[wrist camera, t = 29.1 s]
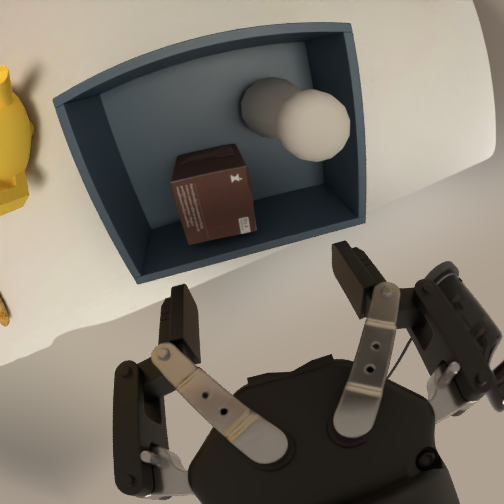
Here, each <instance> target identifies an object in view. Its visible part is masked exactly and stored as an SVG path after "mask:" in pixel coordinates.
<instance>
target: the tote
mask: <svg viewBox="0 0 504 504" xmlns="http://www.w3.org/2000/svg"><path fill="white" fill-rule="evenodd" d="M269 77H277V78H282V79H286V80H288V81H290V82H291V83H292V84H294V85H295V86H296V87H298V88H299V89H301V90H302V91H303V90H308V89H314V90H318V91H322V92H325V93H328V94H330V95H332V96H333V97H335V98H336V99H337V100H338V101H339V102H340V103H341V104H342V105H344V106H345V109H346V111H347V114H348V116H349V119H350V136H349V138H348V139H347V141H346V143H345V145H344V147H343V149H342V150H341V151H339V152H338V153H337V154H336V155H335V156H334V157H332V158H330V159H327V160H323V161H319V162H314V161H308V160H302V159H299V158H297V157H296V156H295V155H293V154H292V153H291V152H289V151H288V150H286V149H285V148H284V146H283V145H282V143H281V141H280V140H277V139H271V138H266V137H261V136H260V135H258V134H257V133H255V132H253V131H252V130H250V129H249V127H248V126H247V124H246V122H245V121H244V119H243V118H242V108H241V101H242V99H243V97H244V94H245V92H246V90H247V89H248V88H249V87H250V86H252V85H253V84H254V83H255V82H257V81H258V80H261V79H265V78H269ZM53 103H54V106H55V108H56V112H57V115H58V118H59V121H60V124H61V127H62V130H63V133H64V135H65V138H66V141H67V143H68V146H69V149H70V151H71V154H72V156H73V159H74V161H75V164H76V166H77V168H78V171H79V173H80V175H81V178H82V180H83V182H84V184H85V187H86V189H87V191H88V193H89V195H90V198H91V200H92V202H93V204H94V206H95V208H96V210H97V212H98V214H99V216H100V218H101V220H102V222H103V224H104V226H105V228H106V230H107V232H108V234H109V235H110V237H111V239H112V241H113V243H114V245H115V246H116V248H117V250H118V252H119V254H120V255H121V257H122V259H123V261H124V262H125V264H126V266H127V268H128V269H129V271H130V273H131V274H132V276H133V278H134V279H135V281H136V283H137V284H141V283H145V282H149V281H153V280H156V279H160V278H164V277H167V276H171V275H175V274H179V273H182V272H186V271H190V270H193V269H197V268H201V267H205V266H208V265H212V264H216V263H219V262H223V261H227V260H231V259H234V258H238V257H242V256H245V255H249V254H253V253H257V252H260V251H264V250H268V249H271V248H275V247H279V246H282V245H286V244H290V243H293V242H297V241H301V240H305V239H308V238H312V237H316V236H319V235H323V234H327V233H330V232H334V231H338V230H341V229H345V228H348V227H352V226H356V225H360V224H363V223H365V220H366V145H365V126H364V113H363V102H362V92H361V83H360V75H359V68H358V61H357V54H356V48H355V43H354V37H353V33H352V27H351V23H335V22H308V23H287V24H275V25H265V26H257V27H250V28H243V29H237V30H231V31H226V32H221V33H216V34H211V35H207V36H203V37H199V38H195V39H191V40H187V41H184V42H180V43H177V44H173V45H170V46H167V47H164V48H161V49H158V50H155V51H152V52H149V53H146V54H144V55H141V56H138V57H136V58H133V59H131V60H128V61H126V62H123V63H121V64H119V65H116V66H114V67H112V68H110V69H108V70H105V71H103V72H101V73H99V74H97V75H95V76H93V77H91V78H89V79H87V80H85V81H83V82H82V83H80V84H78V85H76V86H74V87H72V88H71V89H69V90H67V91H65V92H64V93H62V94H60V95H59V96H57V97H55V98H54V99H53ZM230 144H236V145H237V147H238V149H239V151H240V153H241V155H242V157H243V159H244V161H245V163H246V165H247V167H248V171H249V178H250V185H251V192H252V197H253V206H254V213H255V219H256V227H257V230H256V231H252V232H248V233H244V234H238V235H234V236H228V237H224V238H219V239H214V240H210V241H205V242H201V243H196V244H191V245H189V244H188V241H187V239H186V235H185V233H184V230H183V226H182V223H181V220H180V216H179V213H178V210H177V207H176V203H175V200H174V196H173V192H172V189H171V184H170V182H171V180H172V175H173V171H174V167H175V163H176V159H177V156H180V155H184V154H188V153H192V152H196V151H201V150H205V149H210V148H215V147H220V146H225V145H230Z"/></svg>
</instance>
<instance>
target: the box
mask: <svg viewBox="0 0 504 504" xmlns="http://www.w3.org/2000/svg"><path fill="white" fill-rule="evenodd" d="M170 184H171V189H172V192H173V196H174V200H175V203H176V207H177V210H178V213H179V216H180V220H181V223H182V226H183V230H184V233H185V235H186V239H187V241H188V244H189V245H191V244H196V243H201V242H205V241H210V240H214V239H219V238H224V237H228V236H234V235H238V234H244V233H248V232H252V231H256V230H257V227H256V219H255V213H254V206H253V197H252V192H251V185H250V178H249V171H248V167H247V165H246V163H245V161H244V159H243V157H242V155H241V153H240V151H239V149H238V147H237V145H236V144H230V145H225V146H220V147H215V148H210V149H205V150H201V151H196V152H192V153H188V154H184V155H180V156H177V159H176V163H175V167H174V171H173V175H172V180H171V182H170Z"/></svg>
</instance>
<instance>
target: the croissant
mask: <svg viewBox="0 0 504 504" xmlns="http://www.w3.org/2000/svg"><path fill="white" fill-rule="evenodd" d="M9 322H10V319H9V316H8V313H7V311H6V309H5V306H4V303H3V301H2V300H1V298H0V323H1V324H2V325H3V326H8V324H9Z"/></svg>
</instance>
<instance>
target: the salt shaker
mask: <svg viewBox="0 0 504 504" xmlns="http://www.w3.org/2000/svg"><path fill="white" fill-rule="evenodd" d="M241 108H242V118H243V119H244V121H245V122H246V124H247V126H248V127H249V129H250V130H252V131H253V132H255V133H257V134H258V135H260V136H261V137H266V138H271V139H277V140H280V141H281V143H282V145H283V146H284V148H285V149H286V150H288V151H289V152H291V153H292V154H293V155H295V156H296V157H297V158H299V159H302V160H308V161H314V162H319V161H323V160H327V159H330V158H332V157H334V156H335V155H336V154H337V153H338V152H339V151H341V150H342V149H343V147H344V145H345V143H346V141H347V139H348V138H349V136H350V119H349V116H348V114H347V111H346V109H345V106H344V105H342V104H341V103H340V102H339V101H338V100H337V99H336V98H335V97H333V96H332V95H330V94H328V93H325V92H322V91H318V90H314V89H308V90H303V91H302V90H301V89H299V88H298V87H296V86H295V85H294V84H292V83H291V82H290V81H288V80H286V79H282V78H277V77H269V78H265V79H261V80H258V81H257V82H255V83H254V84H253V85H252V86H250V87H249V88H248V89H247V90H246V92H245V94H244V97H243V99H242V101H241Z"/></svg>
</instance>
